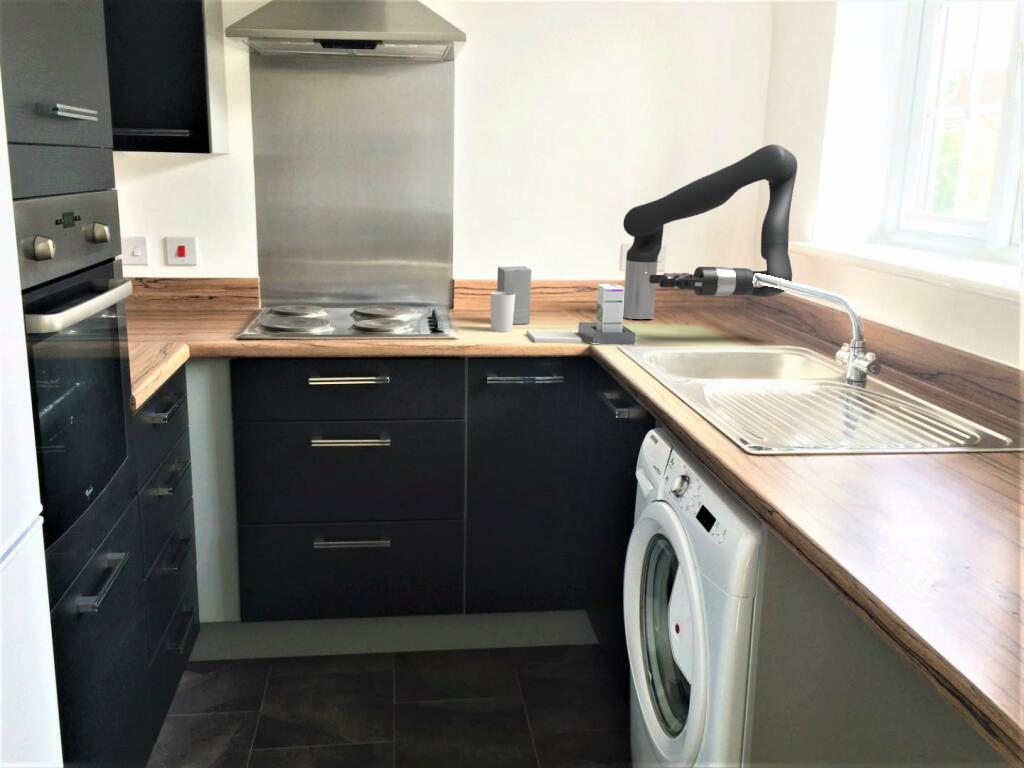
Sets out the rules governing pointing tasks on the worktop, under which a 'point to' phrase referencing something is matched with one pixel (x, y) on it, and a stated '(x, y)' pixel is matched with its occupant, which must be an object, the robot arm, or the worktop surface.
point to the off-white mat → (553, 336)
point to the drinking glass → (502, 311)
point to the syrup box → (610, 308)
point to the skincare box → (517, 290)
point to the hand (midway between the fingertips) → (654, 280)
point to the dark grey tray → (605, 334)
